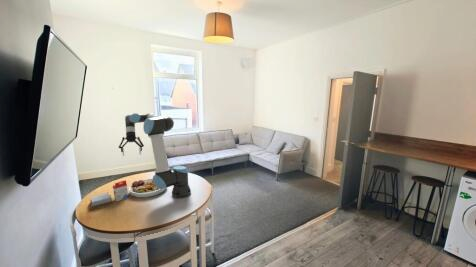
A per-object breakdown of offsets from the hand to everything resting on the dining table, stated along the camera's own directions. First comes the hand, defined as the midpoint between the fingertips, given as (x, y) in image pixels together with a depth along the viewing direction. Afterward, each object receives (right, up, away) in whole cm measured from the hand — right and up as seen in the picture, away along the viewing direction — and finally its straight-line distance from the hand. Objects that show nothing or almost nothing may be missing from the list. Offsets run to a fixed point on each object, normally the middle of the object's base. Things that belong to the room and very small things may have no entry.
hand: (132, 155), depth 181 cm
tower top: (-8, -31, -29) cm, 43 cm away
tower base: (-8, -34, -28) cm, 45 cm away
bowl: (+18, -30, -7) cm, 36 cm away
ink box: (+2, -32, -21) cm, 38 cm away
